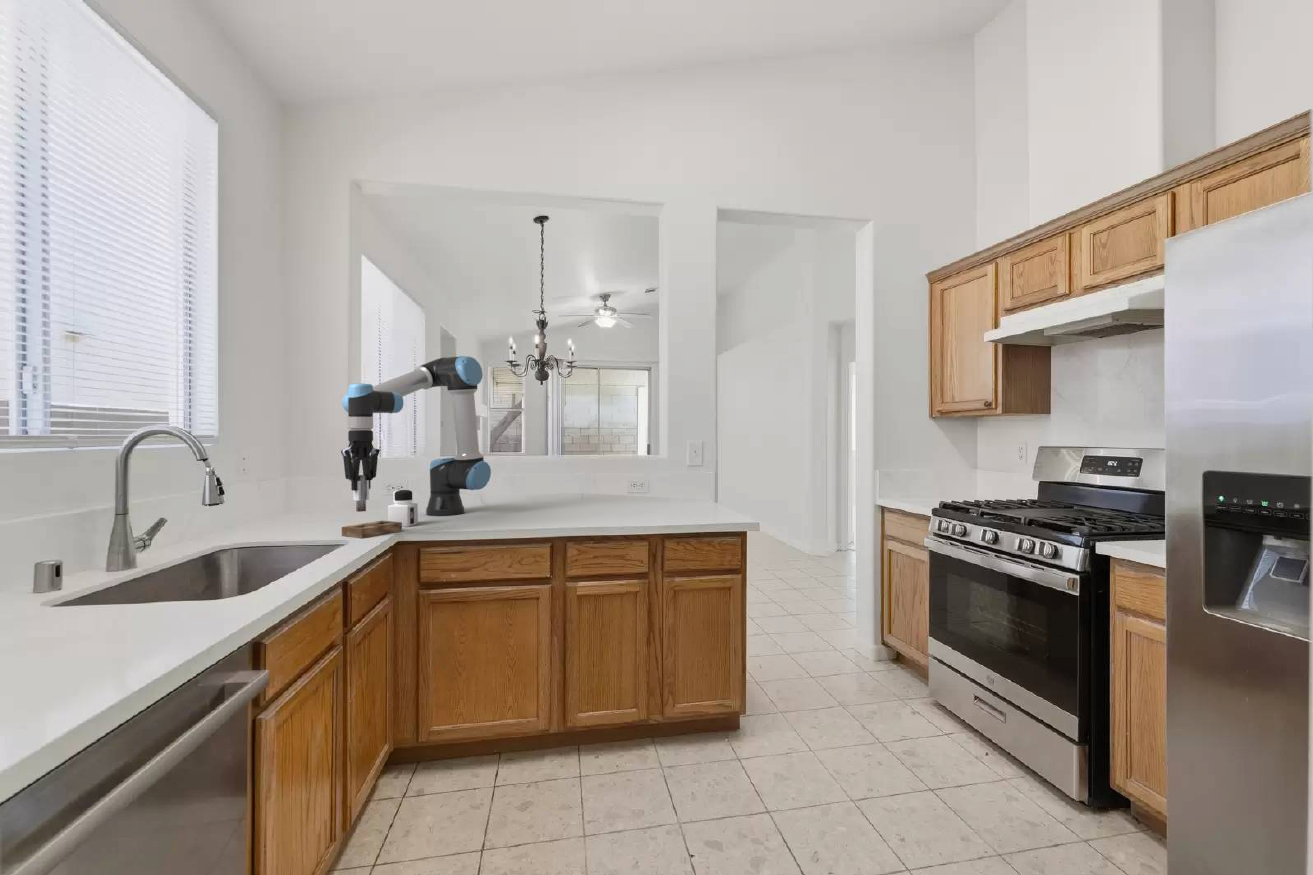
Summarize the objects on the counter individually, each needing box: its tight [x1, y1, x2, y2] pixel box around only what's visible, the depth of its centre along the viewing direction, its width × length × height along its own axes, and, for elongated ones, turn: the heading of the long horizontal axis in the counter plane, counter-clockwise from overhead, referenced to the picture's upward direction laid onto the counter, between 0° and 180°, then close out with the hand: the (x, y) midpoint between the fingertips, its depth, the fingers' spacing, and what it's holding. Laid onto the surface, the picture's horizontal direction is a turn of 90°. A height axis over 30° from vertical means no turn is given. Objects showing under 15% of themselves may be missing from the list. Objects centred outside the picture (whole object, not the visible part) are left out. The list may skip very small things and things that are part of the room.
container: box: [387, 489, 419, 528], centre depth 231 cm, size 8×8×13 cm
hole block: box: [341, 520, 403, 539], centre depth 214 cm, size 16×10×3 cm, turn 152°
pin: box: [355, 474, 367, 512], centre depth 210 cm, size 3×3×12 cm
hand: (361, 499), depth 210 cm, fingers closed on pin, 2 cm apart
